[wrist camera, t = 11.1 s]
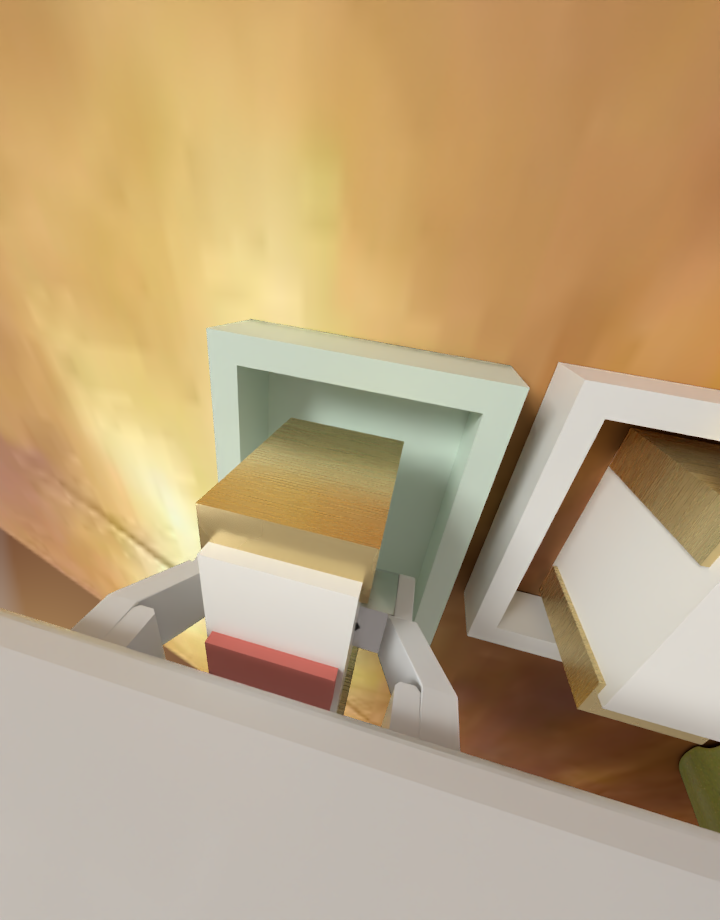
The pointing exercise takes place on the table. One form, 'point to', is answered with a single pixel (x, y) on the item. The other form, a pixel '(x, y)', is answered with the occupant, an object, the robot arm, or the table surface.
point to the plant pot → (703, 784)
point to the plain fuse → (645, 590)
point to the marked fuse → (294, 558)
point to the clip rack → (564, 487)
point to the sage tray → (377, 430)
